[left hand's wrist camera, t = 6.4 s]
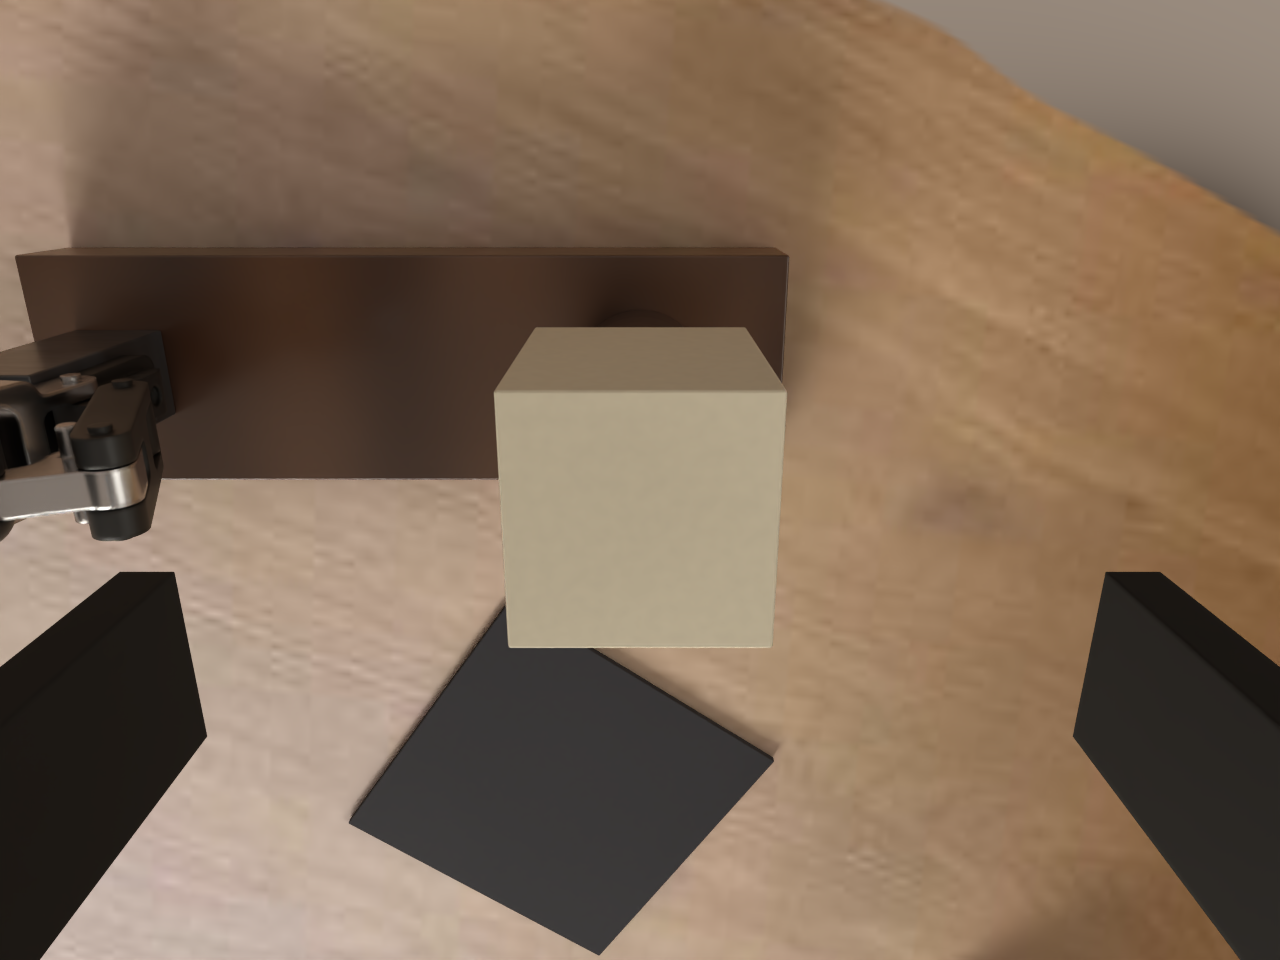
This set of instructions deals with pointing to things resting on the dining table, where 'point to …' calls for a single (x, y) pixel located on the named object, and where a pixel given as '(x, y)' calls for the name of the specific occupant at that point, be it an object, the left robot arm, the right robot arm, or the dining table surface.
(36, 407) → the right robot arm
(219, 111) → the dining table surface
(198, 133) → the dining table surface
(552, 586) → the cap block
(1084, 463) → the dining table surface
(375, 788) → the rubber mat
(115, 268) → the walnut stand
